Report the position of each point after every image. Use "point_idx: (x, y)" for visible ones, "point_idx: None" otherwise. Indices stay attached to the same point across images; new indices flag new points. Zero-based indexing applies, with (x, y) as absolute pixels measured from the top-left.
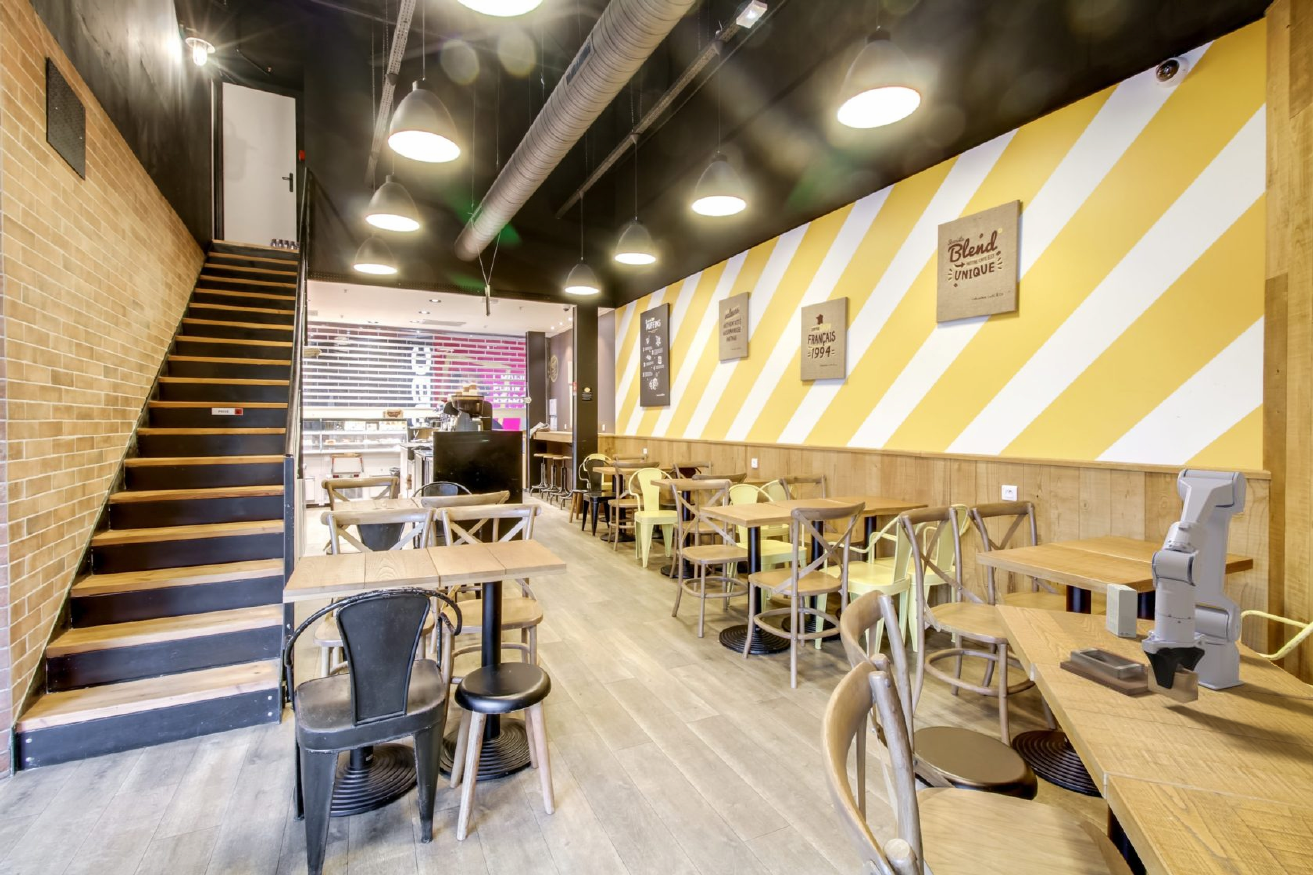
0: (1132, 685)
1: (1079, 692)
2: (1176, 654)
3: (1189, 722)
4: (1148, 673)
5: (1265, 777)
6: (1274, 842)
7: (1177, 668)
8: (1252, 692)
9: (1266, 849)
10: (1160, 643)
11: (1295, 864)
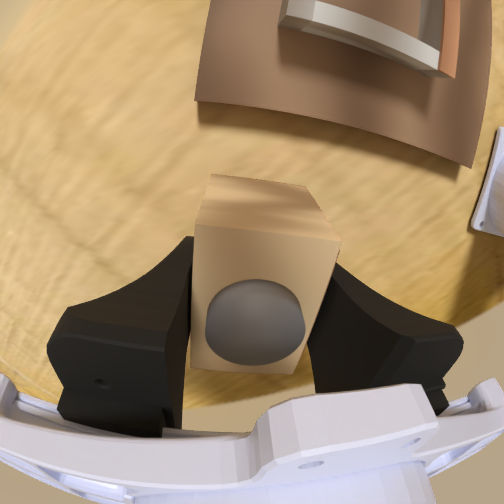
0: (263, 87)
1: (64, 35)
2: (351, 349)
3: None
4: (202, 201)
5: None
6: None
7: (226, 355)
8: (494, 262)
9: None
10: (43, 478)
11: None
